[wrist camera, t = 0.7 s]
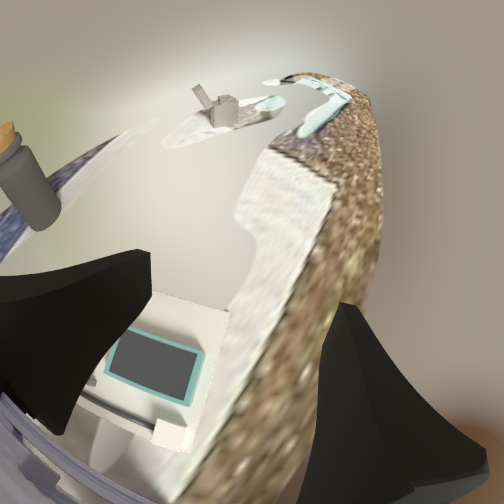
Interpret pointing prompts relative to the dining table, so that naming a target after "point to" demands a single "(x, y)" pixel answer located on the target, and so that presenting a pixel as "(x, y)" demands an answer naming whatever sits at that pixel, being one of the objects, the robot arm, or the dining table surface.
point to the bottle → (26, 181)
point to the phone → (156, 366)
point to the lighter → (219, 108)
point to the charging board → (150, 406)
